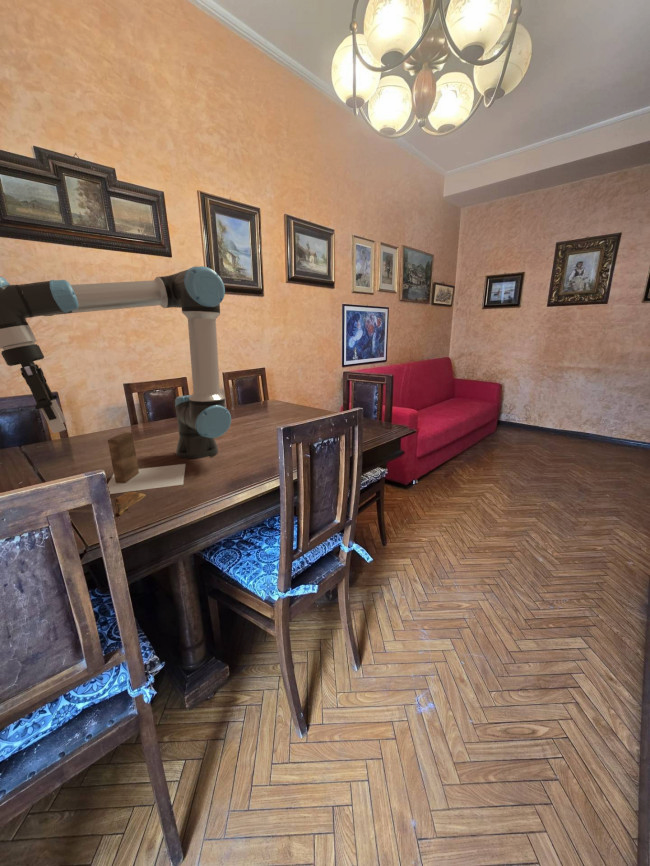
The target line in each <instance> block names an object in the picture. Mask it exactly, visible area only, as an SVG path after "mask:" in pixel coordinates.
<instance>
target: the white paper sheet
mask: <svg viewBox="0 0 650 866" xmlns="http://www.w3.org/2000/svg"><path fill="white" fill-rule="evenodd" d="M138 470H139V473H138V474H137V475H136V476H134V477H133V478H132V479H130V480H129V481H128V482H126V483H116V482H115V476H114V473H113V474H112V476H111V477H110V480H109V481H108V483H107V484H108V487H109V491H110V494H109V495H112V494H119V493H120V494H121V493H126V492H136V491H143V490H144V491H145V490H151V489H158V488H159V489H160V488H167V487H174V486H181V488H184V487H183V486H184V481H185V471H186V463H180V464H172V465H164V466H154V467H143V468H138Z"/></svg>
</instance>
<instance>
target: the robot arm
mask: <svg viewBox="0 0 650 866" xmlns="http://www.w3.org/2000/svg"><path fill="white" fill-rule="evenodd" d="M225 294H226V288H225V283H224V281H223V279H222V278H221V276H220V275H219V274H218V273H217V272H216V271H215V270H214V269H212V268H210V267H207V266H204V265H201V266H200V265H199V266H192V267H190V268H188V269H186V270H182V271H179V272H176V273H173V274H170V275H164V276H156V277H155V278H154V279H152V280H139V281H137V280H136V281H135V280H134V281H119V282H118V281H117V282H101V283H80V284H78V283H77V284H70V282H69V281H67V280H66V279H58V280H57V279H56V280H55V279H50V280H47V281H44V280H43V281H37V282H30V283H22V284H10V283H9V282H8V281H7V279H6V278H5V277H2V276H0V350H1V349H2V350H1V352H0V354H1V356H2V358H3V360H4V362H5V364H6V365H7V366H8V367H13V366H17V365H20V366H21V367H20V368H19V369H20V373H21V376H22V378H23V379H24V380H25V383H26V385H27V386H28V388H29V389H30V392H31V394H32V396H33V398H34V401H35V402H36V405H34V408H35V409H36V410H40V411H41V413H42V415H43V416H44V418H45V420H46V422H47V425H48V427H49V428H50V430H51V432H52V434H56V433H60V432H63V431H66V429H67V428H66V427H65V425H64V423H66V422H67V420H66V418H65V416H64V413H63V412H62V410H61V408H60V406H59V403H58V401H57V399H58V396H57V394H54V393H53V392H52V390H51V388H50V385H48V383H47V380H46V377H45V373H44V371H43V369H42V368H41V367H39V365H38V364H36V363H35V361H41V360H44V359H45V355H44V353H43V351H42V350H41V347H40V345H38V344H36V342H37V339H36V336H35V334H34V332H33V331H32V328H31V326H30V325H29V323H28V321H27V319H31V318H35V317H37V318H38V317H51V316H57V315H59V316H60V315H67V314H68V315H69V314H77V313H88V312H98V311H109V310H110V311H111V310H120V309H133V308H143V307H145V308H146V307H156V306H160V307H162V308H163V309H169V308H171V309H173V308H180V309H181V313H182V315H184V316H185V317H186V319H187V329H188V340H189V342H188V343H189V354H190V364H191V366H190V367H191V380H192V394H189V395H188V394H187V395H180V396H177V397H176V398H175V399H174V400H175V401H174V404H175V405H174V407H175V411H176V419H177V428H178V442H177V444H176V451H175V453H176V457H179V458H181V459H187V460H194V459H196V460H197V459H203V458H207V457H210V458H212V457H215V455H217V454H218V453H219V447H218V444H217V441H216V440H215V439H216V438H220V437H222V436H223V435H224V434H225V433H227V431H228V430H229V429H230V427H231V424H232V415H231V413H230V411H229V410H228V409H227V408H226V397H225V396H224V394H222V393H221V390H220V371H219V356H218V355H219V353H218V352H219V351H218V337H217V336H218V335H217V319H218V317H219V316H221V305H220V304H221V303H222V302H223V300H224V299H225Z"/></svg>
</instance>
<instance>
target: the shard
mask: <svg viewBox="0 0 650 866" xmlns="http://www.w3.org/2000/svg"><path fill="white" fill-rule="evenodd" d="M145 497H147V495H146V494H145V493H141V492H136V491H129V492H124V493H123V494H122V495H119V496H117V497H115V498H114V503H115V507H116V510H117V514H118V515H119V516H122V515H123V514H125V513H126V512H127V511H128V510H129V509H128V508H130V507H131V506H133V505H135V504H136V503H138V502H139V501H141V500H142V499H143V498H145Z"/></svg>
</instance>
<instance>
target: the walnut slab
mask: <svg viewBox="0 0 650 866" xmlns="http://www.w3.org/2000/svg"><path fill="white" fill-rule="evenodd" d="M107 445H108V450H109V455H110V459H111V465H112V470H113V474H114V476H115V482H116V483H126V482H128V481H129V480H130V479H132V478H133V477H134V476H136V475H137V474H138V473H139V470H138V469H139V465H138V459H137V452H136V446H135V441H134V435H133V432H127V431H126V432H125V431H124V432H123V431H122V432H120V433H119V434H118V435H115V436H113V437H111V438H108V439H107Z"/></svg>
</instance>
